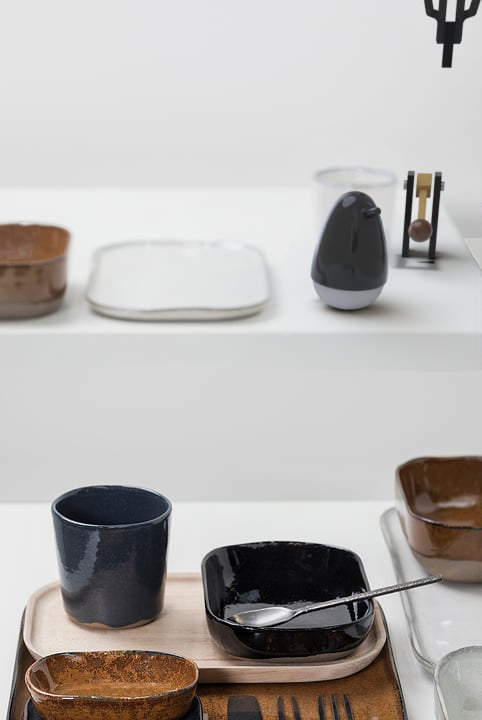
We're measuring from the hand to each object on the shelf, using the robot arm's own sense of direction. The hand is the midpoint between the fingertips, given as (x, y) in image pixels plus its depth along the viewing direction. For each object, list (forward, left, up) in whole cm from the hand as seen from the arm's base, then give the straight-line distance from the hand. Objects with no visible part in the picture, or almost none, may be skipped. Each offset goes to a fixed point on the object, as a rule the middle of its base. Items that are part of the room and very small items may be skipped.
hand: (446, 67), depth 165 cm
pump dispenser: (+11, +35, -28) cm, 46 cm away
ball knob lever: (+2, +13, -20) cm, 24 cm away
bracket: (+2, +9, -28) cm, 30 cm away
